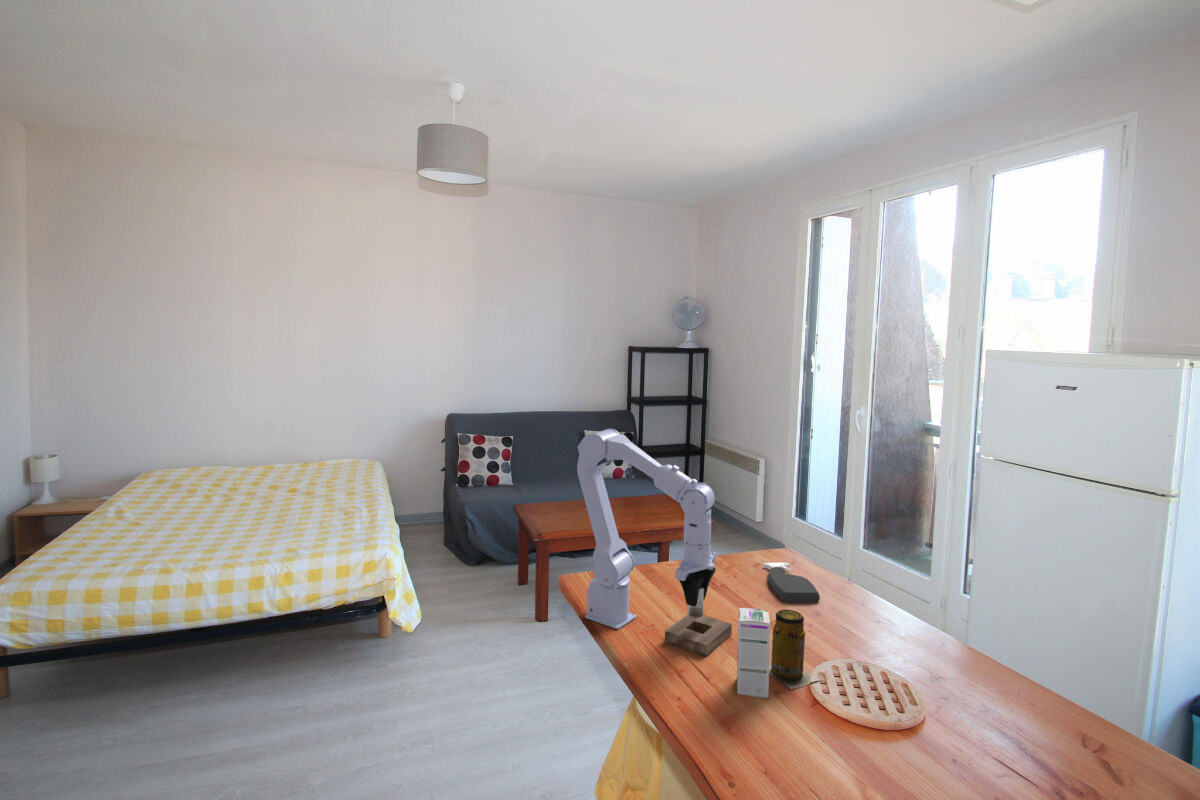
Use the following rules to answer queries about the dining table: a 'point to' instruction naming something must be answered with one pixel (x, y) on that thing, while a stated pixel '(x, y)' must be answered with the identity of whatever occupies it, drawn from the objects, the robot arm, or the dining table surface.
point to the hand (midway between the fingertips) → (695, 602)
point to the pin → (698, 609)
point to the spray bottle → (790, 585)
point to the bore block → (698, 634)
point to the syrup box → (753, 652)
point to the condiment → (789, 649)
